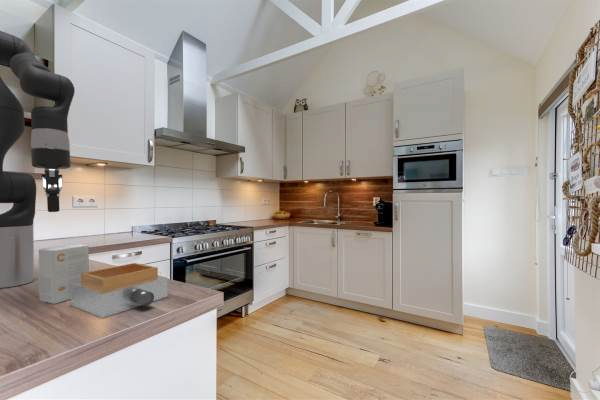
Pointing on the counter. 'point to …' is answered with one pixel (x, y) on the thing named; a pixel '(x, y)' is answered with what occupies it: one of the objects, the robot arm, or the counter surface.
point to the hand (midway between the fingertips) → (53, 212)
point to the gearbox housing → (118, 289)
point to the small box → (61, 270)
